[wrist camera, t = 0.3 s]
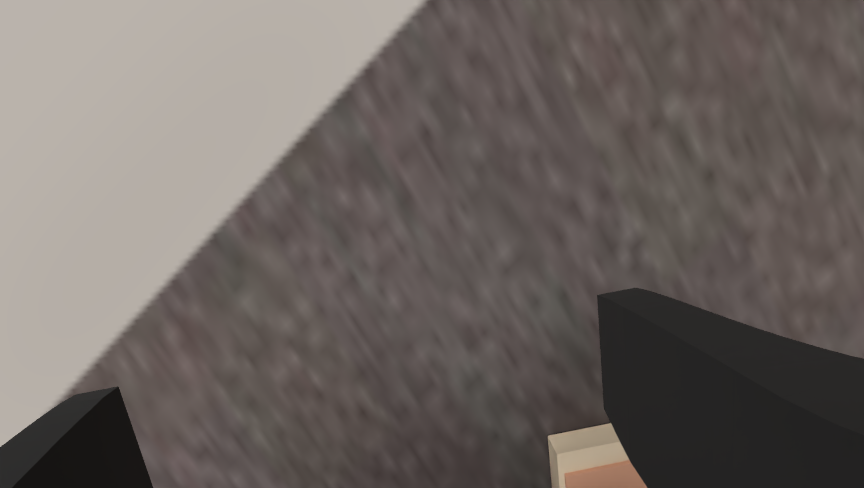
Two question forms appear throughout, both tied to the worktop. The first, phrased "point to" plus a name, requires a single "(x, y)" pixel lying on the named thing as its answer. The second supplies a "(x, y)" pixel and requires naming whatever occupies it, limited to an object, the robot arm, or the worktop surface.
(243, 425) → the worktop surface
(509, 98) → the worktop surface
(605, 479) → the board
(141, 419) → the worktop surface
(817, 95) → the worktop surface
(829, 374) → the robot arm
